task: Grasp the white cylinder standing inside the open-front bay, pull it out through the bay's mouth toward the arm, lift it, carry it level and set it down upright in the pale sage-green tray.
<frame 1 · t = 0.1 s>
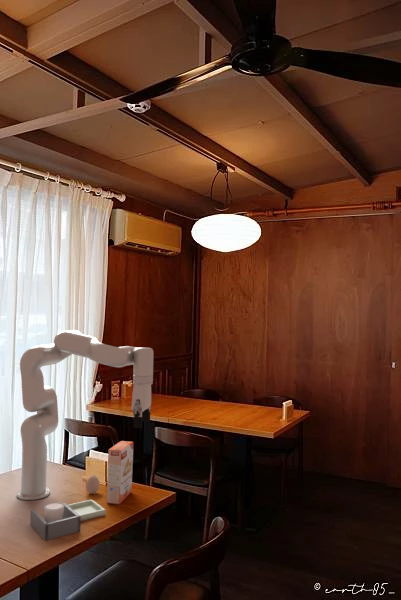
hand: (141, 424, 188), 31 cm above the table, tool pointing down, fingers open, 9 cm apart
tray: (83, 513, 180), on the table
bay: (55, 528, 167), on the table
white cylinder: (53, 527, 169), on the table
egg: (92, 494, 199), on the table
cracker box: (119, 498, 196), on the table
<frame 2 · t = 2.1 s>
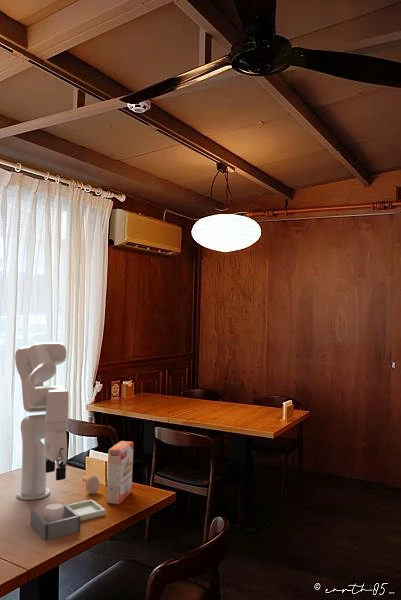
hand: (55, 475, 169), 17 cm above the table, tool pointing down, fingers open, 9 cm apart
nothing on the table moved.
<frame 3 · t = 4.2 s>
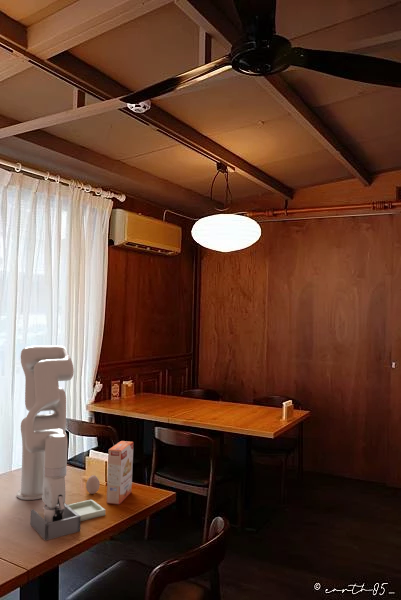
hand: (53, 523, 169), 1 cm above the table, tool pointing down, fingers closed on white cylinder, 6 cm apart
white cylinder: (53, 527, 169), on the table, touching gripper
everything else where it was.
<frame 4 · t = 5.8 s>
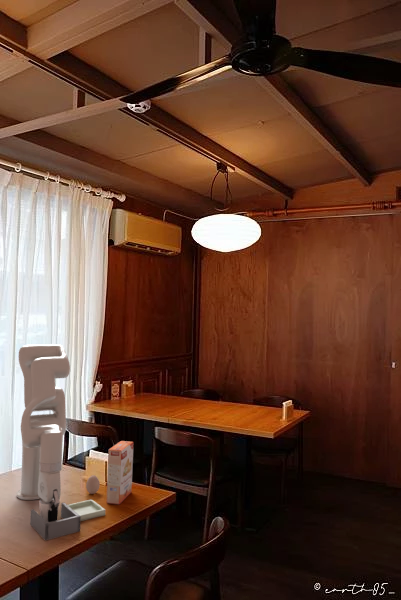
hand: (48, 516, 172), 2 cm above the table, tool pointing down, fingers closed on white cylinder, 6 cm apart
white cylinder: (48, 520, 172), on the table, touching gripper
everything else where it was.
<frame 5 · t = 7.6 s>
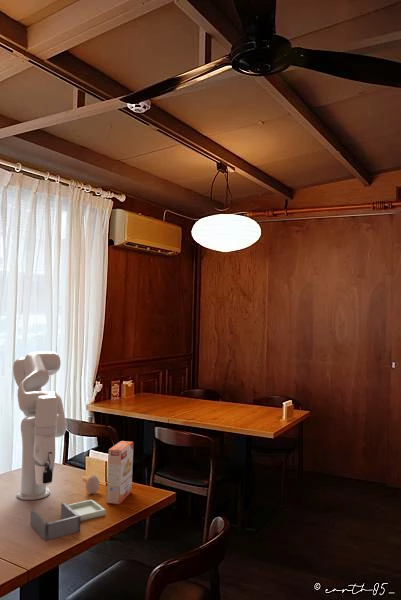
hand: (44, 478, 178), 13 cm above the table, tool pointing down, fingers closed on white cylinder, 6 cm apart
white cylinder: (43, 482, 178), point 12 cm above the table, touching gripper
everything else where it was.
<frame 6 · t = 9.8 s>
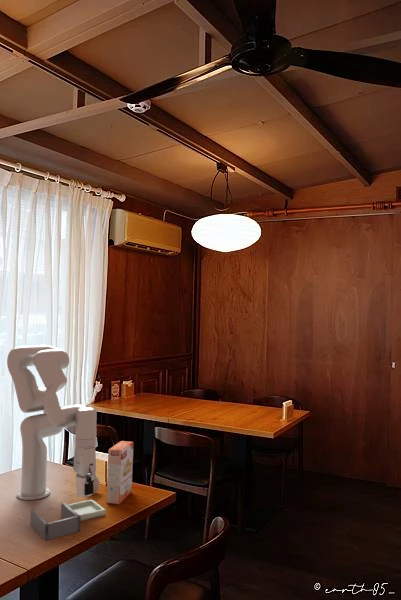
hand: (84, 491, 180), 8 cm above the table, tool pointing down, fingers closed on white cylinder, 6 cm apart
white cylinder: (84, 494, 180), point 7 cm above the table, touching gripper
everything else where it was.
when the fingers open (3 cm above the table, at t = 11.1 s): white cylinder stays where it is, resting on tray.
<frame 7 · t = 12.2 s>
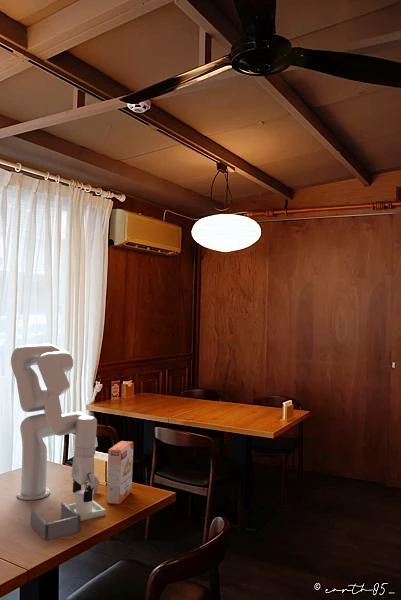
hand: (82, 496, 181), 6 cm above the table, tool pointing down, fingers open, 9 cm apart
white cylinder: (84, 512, 180), point 1 cm above the table, touching tray
everything else where it was.
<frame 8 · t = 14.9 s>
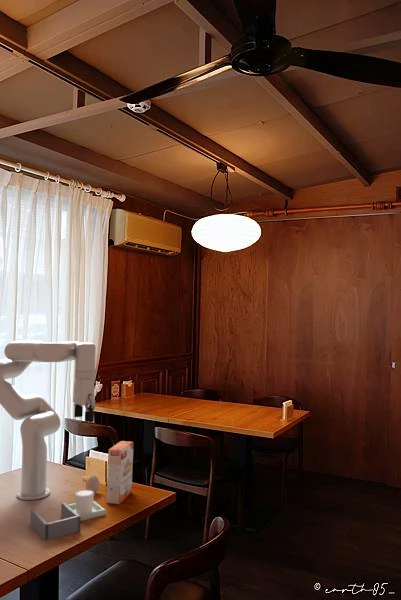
hand: (83, 419, 190), 32 cm above the table, tool pointing down, fingers open, 9 cm apart
nothing on the table moved.
at the end: white cylinder inside the target area on the tray (0.5 cm from its centre), point 0.4 cm above the tray's base; white cylinder tilted 0°; the gripper is holding nothing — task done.
